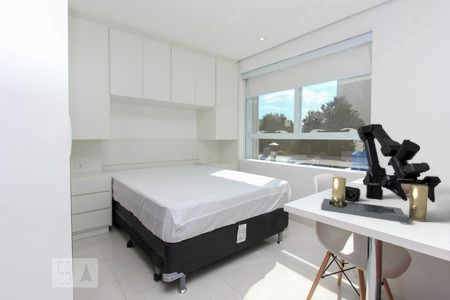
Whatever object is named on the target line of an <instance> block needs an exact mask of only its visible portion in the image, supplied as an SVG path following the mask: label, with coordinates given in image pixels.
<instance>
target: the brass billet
mask: <svg viewBox="0 0 450 300" xmlns="http://www.w3.org/2000/svg"><path fill="white" fill-rule="evenodd" d="M428 199H429V198H428V186H427V185H421V184H410V193H409V205H408V219H409V220H411V221H414V222H418V223H427V214H428Z"/></svg>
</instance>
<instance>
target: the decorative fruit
mask: <svg viewBox="0 0 450 300" xmlns="http://www.w3.org/2000/svg"><path fill="white" fill-rule="evenodd" d="M401 187H402V189H403V191H404V193H405V195H406V196H407V195H410V185H409V184H401Z"/></svg>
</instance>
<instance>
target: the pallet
mask: <svg viewBox="0 0 450 300" xmlns="http://www.w3.org/2000/svg"><path fill="white" fill-rule="evenodd" d="M322 200H323V201H322V202H321V205H320V206H321V207H320V210H321V211H324V212H325V211H326V212H332V213H338V214H344V215H350V216H355V217H356V216H357V217H364V218H370V219H377V220H384V221H389V222H398V223H400V224H401V225H408V216H407V215H406V214H405V212H404V210H403V209H402V208H400V207H393V206H385V205H379V204H378V205H377V204H369V203H362V202H357V201H355V202H350V201H345V207H343V206H336V205H332V198H323V199H322Z"/></svg>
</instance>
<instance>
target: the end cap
mask: <svg viewBox="0 0 450 300" xmlns="http://www.w3.org/2000/svg"><path fill="white" fill-rule="evenodd" d="M361 194H362V193H361V189H360V188H359V187H353V186H349V185H346V187H345V201H348V202H358V201H359V200H360V198H361Z"/></svg>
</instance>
